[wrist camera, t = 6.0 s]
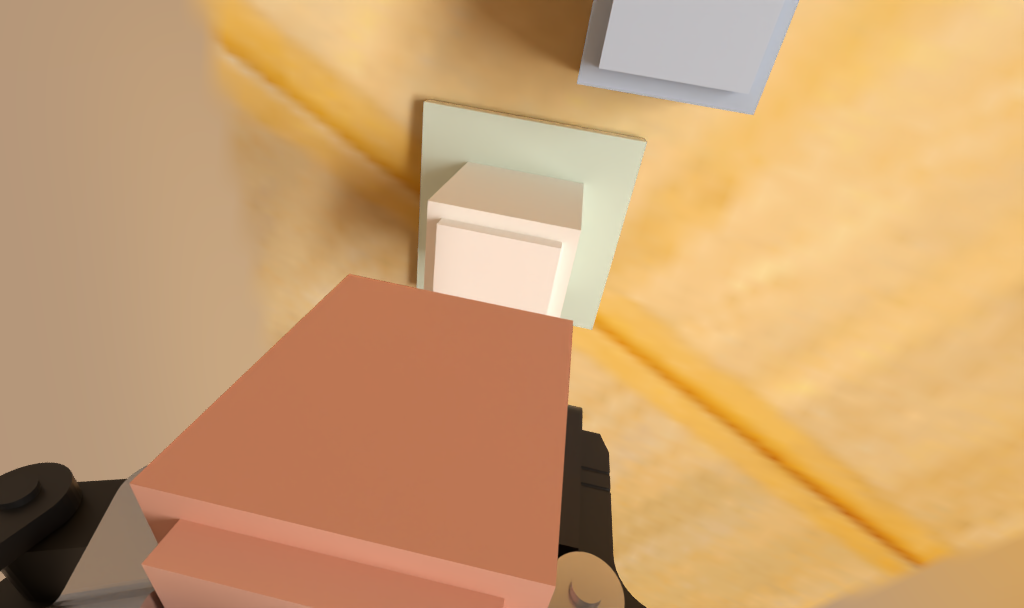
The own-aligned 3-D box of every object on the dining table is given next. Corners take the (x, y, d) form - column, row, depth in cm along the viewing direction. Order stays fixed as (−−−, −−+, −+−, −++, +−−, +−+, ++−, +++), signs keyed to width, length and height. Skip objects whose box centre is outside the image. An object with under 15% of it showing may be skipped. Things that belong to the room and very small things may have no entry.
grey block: (614, -95, 16) (626, -168, 11) (767, -72, 16) (862, -135, 10) (580, 72, 19) (576, 85, 13) (709, 95, 19) (759, 117, 13)
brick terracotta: (349, 273, 11) (82, 527, 5) (573, 320, 10) (551, 644, 5) (357, 431, 14) (191, 706, 8) (533, 471, 13) (491, 786, 8)
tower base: (429, 99, 20) (357, 125, 14) (645, 138, 20) (669, 183, 14) (420, 286, 26) (365, 365, 19) (592, 321, 25) (592, 415, 19)
